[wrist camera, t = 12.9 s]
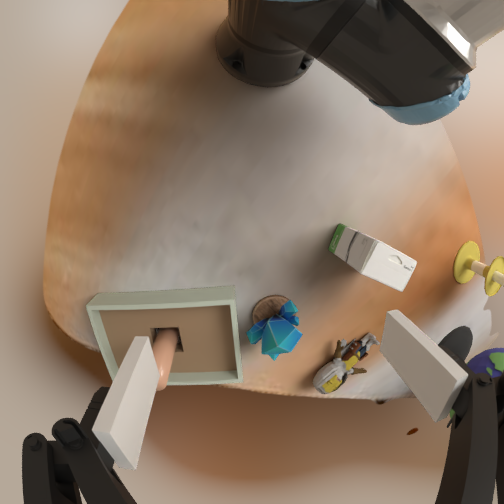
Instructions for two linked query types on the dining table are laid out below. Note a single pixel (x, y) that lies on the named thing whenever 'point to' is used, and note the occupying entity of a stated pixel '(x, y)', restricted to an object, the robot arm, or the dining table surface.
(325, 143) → the dining table surface
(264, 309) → the gemstone
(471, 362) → the globe
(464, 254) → the candle
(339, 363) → the toy
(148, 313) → the box
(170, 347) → the peg
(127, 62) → the dining table surface
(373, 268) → the ink box
